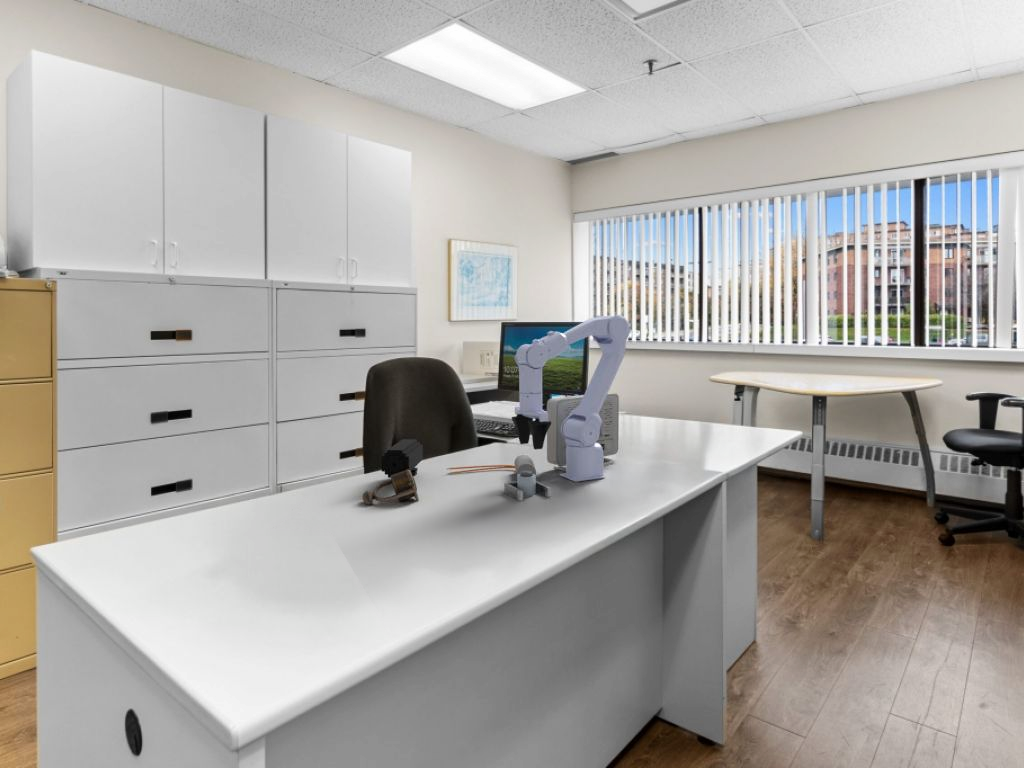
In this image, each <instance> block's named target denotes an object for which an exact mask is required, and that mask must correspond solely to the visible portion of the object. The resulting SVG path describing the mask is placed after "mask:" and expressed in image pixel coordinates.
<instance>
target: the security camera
mask: <svg viewBox="0 0 1024 768" xmlns="http://www.w3.org/2000/svg"><path fill="white" fill-rule="evenodd" d="M423 453H424V448H423V444H421V442H419V441H418V440H417V439H415V438H412V439H411V438H409V439H408V438H407V439H406V438H403V439H401V440H399V441H398V442H397V443H395V444H394V445H392V446H391V447H390V448H387V450H386V451H385V452H384V453H383V454H382V455H381V456H380V460H381V461H380V463H381V464H380V465H381V466H380V467H381V472H384V475H387V478H388V479H391V475H394V474H397V473H400V472H403V471H405V470H409V471H411V473H412V475H413V477H415V476H416V475H418V471H419V470H418V467H417V466H418V465H419V464H420V463H421V461H423V459H424V454H423Z"/></svg>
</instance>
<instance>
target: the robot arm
mask: <svg viewBox="0 0 1024 768" xmlns="http://www.w3.org/2000/svg"><path fill="white" fill-rule="evenodd" d="M546 334H547V335H546V336H542V337H541V338H540V339H537V338H535V339H533V340H532V343H531V344H527V343H524V344H522V345H520V346H519V347H518V349H517V350H516V354H515V355H514V360H515V363H516V364H517V366H518V373H519V374H518V375H519V377H518V378H519V379H518V380H519V381H518V384H519V389H518V390H519V391H518V392H519V397H518V398H519V406H514V414H515V415H516V416H511V420H512V422H513V425H514V426H515V430H516V432H517V433H516V434H517V436H518V441H519V443H520V445H525V444H529V442H530V435H531V437H532V438H531V439H532V447H533V449H534V450H543V447H544V444H545V440H546V437H547V431H548V429H549V427H550V425H551V421H548V413H547V411H545V410H544V409H543V367H544V366H545V365H546V364H547V361H549V360H551V359H554V358H555V357H557V356H560V355H561V354H564V353H566V351H567V349H568V347H569V345H571V344H575V343H576V342H578V341H581V340H583V339H585V338H588V337H590V336H591V337H592V338H593V340H594V342H595V343H596V344H597V346H598V348H599V349H600V350H601V352H602V355H601V356H600V359H599V361H598V364H597V365H596V368H595V370H594V372H593V374H592V377H591V379H590V380H589V384H588V385H587V388H586V390H585V392H584V394H583V395H584V396H583V398H582V401H581V403H580V405H579V406H578V407H576V408H575V409H573V410H572V411H571V412H570V414H569V416H568V417H567V418H566V419H565V420H564V421H563V423H562V425H561V434H562V436H563V437H564V438H565V443H566V465H565V468H566V471H565V472H562V473H561V472H560V473H559V476H561V477H563V478H566V479H568V480H570V481H572V482H575V483H576V482H583V481H590V480H591V481H592V480H597V479H605V478H606V476H605V475H604V466H603V465H604V463H605V461H604V458H605V456H604V454H603V449H602V447H601V445H600V444H598V443H595V442H596V441H597V440H598V438H599V434H600V426H601V424H602V420H601V418H600V416H599V411H600V409H601V407H602V405H603V402H604V400H605V398H606V396H607V394H608V393H609V391H610V388H611V387H612V384H613V382H614V380H615V378H616V375H617V373H618V371H619V369H620V367H621V364H622V362H623V360H624V357H625V354H626V347H627V346H626V345H627V340H628V338H629V336H630V334H631V328H630V325H629V323H628V320H627V318H626V317H624V316H623V315H621V314H617V315H604V316H603V315H596V316H593V317H590V318H587V319H586V320H584V321H583V322H581V323H579V324H577V325H575V326H574V327H571V328H570V329H568V330H566V331H564V332H560V331H553V330H550V331H548V332H546Z"/></svg>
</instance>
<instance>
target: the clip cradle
mask: <svg viewBox="0 0 1024 768" xmlns="http://www.w3.org/2000/svg"><path fill="white" fill-rule="evenodd" d="M503 487H504V493H505V494H506V495H508V496H510V497H512V498H513V499H515V500H518V501H519V502H522V501H524V496H523V491H521V490H520V489H518V488H517V481H511V482H510V481H508V482H506V483H505V482H504V486H503ZM536 492H537V493H539V494H541V495H543V496H545V497H546V496H547V498H550V497H552V495H551V494H552V488H551V487H550V486H549V485H546V484H545V483H543V482H540V481H537V480H536Z"/></svg>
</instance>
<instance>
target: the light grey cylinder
mask: <svg viewBox="0 0 1024 768" xmlns="http://www.w3.org/2000/svg"><path fill="white" fill-rule="evenodd" d="M536 478H537V474H536V475H535V474H533V472H532V471H521V472H520V474H518V475H517V474H516V479H517V488H518V489H520V490H521V491H523V497H534V496H535V495H536V492H537V491H536V481H537V479H536ZM533 495H534V496H533Z"/></svg>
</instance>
